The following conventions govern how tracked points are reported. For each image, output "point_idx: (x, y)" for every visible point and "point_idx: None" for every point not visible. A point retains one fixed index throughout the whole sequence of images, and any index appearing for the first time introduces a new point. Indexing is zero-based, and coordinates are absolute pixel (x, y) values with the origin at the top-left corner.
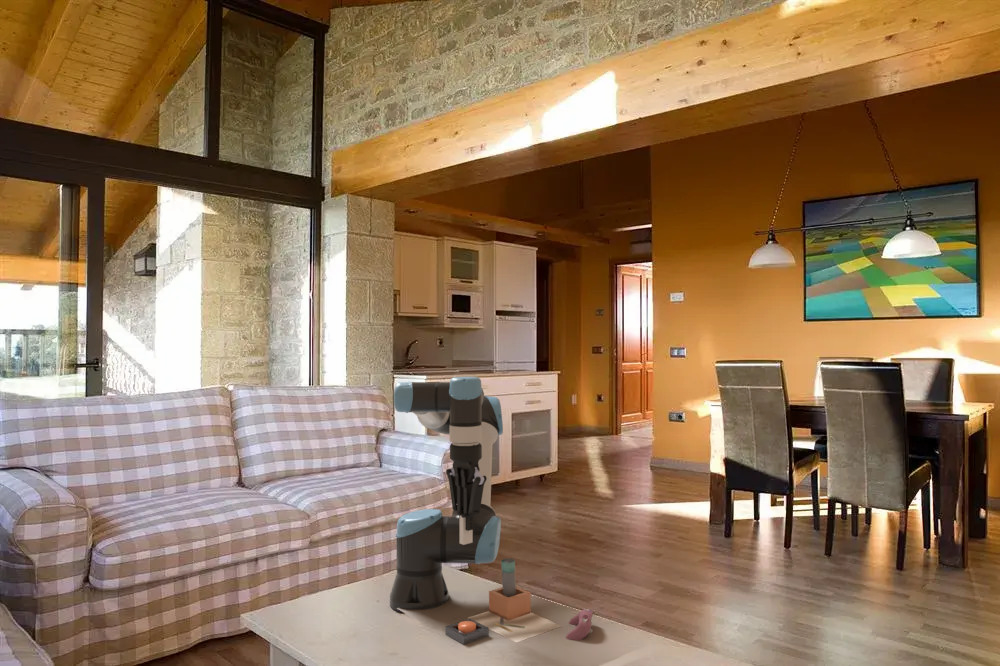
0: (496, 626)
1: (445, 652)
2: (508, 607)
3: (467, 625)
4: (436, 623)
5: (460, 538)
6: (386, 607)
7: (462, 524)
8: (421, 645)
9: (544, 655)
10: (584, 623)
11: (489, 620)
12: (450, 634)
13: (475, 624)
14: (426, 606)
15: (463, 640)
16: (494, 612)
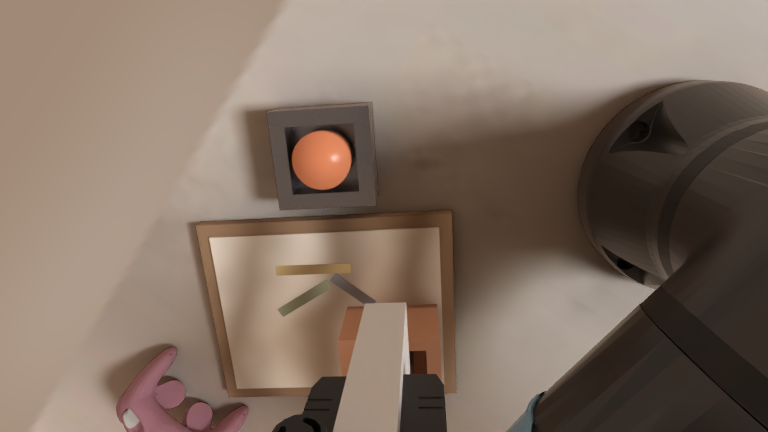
0: (331, 258)
1: (295, 54)
2: (342, 328)
3: (313, 158)
4: (496, 144)
5: (393, 319)
6: (739, 70)
7: (354, 383)
8: (380, 15)
9: (144, 263)
10: (122, 408)
11: (380, 267)
12: (342, 105)
13: (306, 183)
14: (593, 163)
15: (272, 110)
16: (410, 307)
